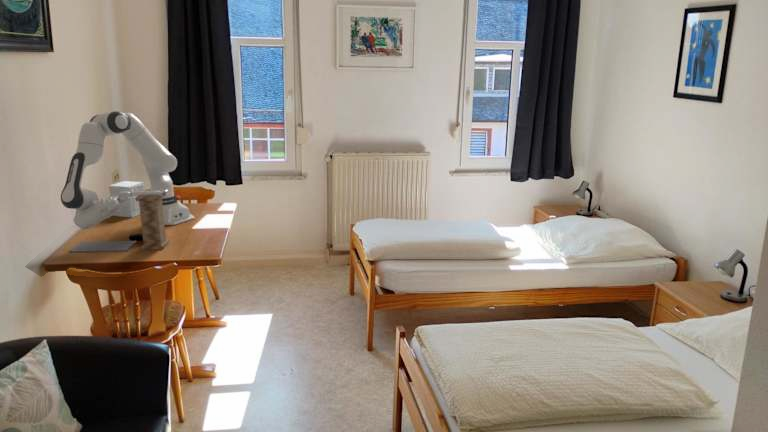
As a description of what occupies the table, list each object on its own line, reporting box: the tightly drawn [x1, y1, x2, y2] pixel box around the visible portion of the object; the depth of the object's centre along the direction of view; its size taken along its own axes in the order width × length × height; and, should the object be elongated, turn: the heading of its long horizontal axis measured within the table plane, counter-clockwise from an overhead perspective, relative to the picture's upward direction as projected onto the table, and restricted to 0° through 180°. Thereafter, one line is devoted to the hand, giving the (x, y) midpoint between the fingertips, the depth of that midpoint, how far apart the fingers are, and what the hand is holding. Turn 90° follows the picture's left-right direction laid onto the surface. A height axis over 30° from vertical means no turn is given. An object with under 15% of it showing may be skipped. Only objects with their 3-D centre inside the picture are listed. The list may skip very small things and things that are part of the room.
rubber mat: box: [68, 240, 138, 253], centre depth 290 cm, size 26×14×1 cm, turn 93°
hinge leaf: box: [120, 189, 169, 196], centre depth 284 cm, size 21×4×2 cm, turn 93°
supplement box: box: [108, 180, 145, 218], centre depth 344 cm, size 13×13×18 cm
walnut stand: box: [136, 196, 170, 251], centre depth 288 cm, size 10×10×25 cm
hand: (131, 192), depth 283 cm, fingers closed on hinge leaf, 4 cm apart
